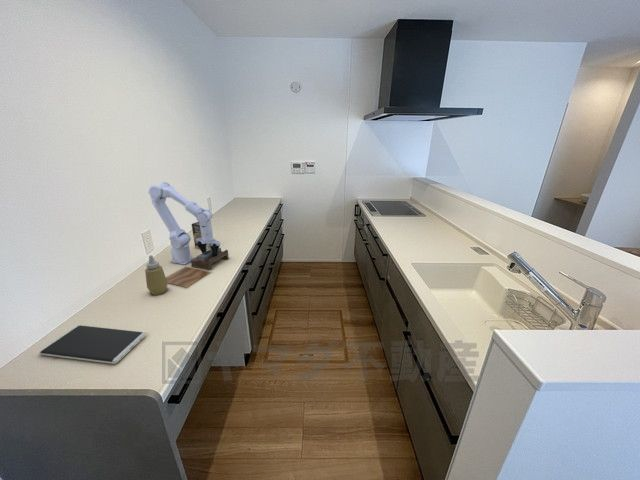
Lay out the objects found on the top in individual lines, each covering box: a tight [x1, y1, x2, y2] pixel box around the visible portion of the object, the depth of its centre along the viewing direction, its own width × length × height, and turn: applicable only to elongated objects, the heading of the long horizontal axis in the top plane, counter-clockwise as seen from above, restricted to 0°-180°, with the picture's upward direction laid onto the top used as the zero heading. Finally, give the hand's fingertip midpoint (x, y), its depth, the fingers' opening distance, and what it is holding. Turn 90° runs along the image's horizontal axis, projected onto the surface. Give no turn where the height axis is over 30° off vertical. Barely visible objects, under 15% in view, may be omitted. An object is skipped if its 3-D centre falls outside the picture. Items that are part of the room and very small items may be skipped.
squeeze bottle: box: [144, 254, 168, 296], centre depth 117 cm, size 8×8×18 cm
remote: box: [196, 247, 222, 262], centre depth 147 cm, size 14×4×3 cm, turn 161°
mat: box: [165, 266, 211, 289], centre depth 133 cm, size 16×16×1 cm
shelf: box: [190, 249, 230, 271], centre depth 148 cm, size 12×16×6 cm
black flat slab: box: [39, 324, 146, 365], centre depth 88 cm, size 13×27×2 cm, turn 83°
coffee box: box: [191, 221, 213, 251], centre depth 166 cm, size 9×6×16 cm
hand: (209, 255), depth 147 cm, fingers open, 7 cm apart
